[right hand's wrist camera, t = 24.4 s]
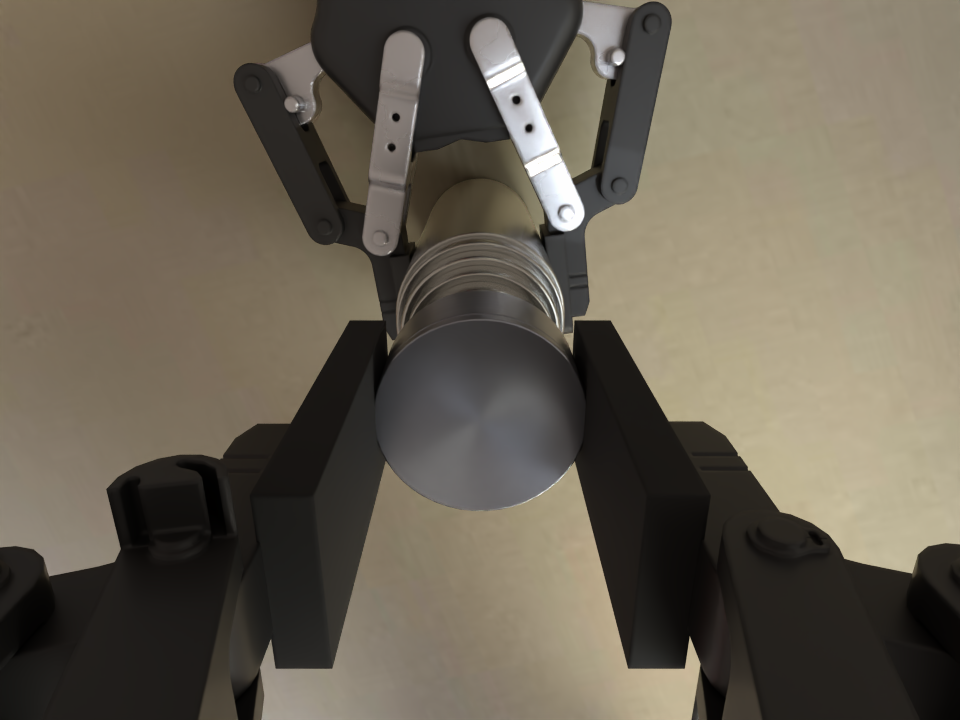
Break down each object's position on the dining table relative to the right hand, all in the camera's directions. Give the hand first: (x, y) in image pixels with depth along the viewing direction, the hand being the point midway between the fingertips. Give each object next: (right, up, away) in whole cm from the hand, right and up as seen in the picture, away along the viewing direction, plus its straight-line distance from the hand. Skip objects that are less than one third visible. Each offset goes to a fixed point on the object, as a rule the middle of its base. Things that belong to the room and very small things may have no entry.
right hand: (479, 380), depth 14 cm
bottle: (0, +6, +15) cm, 17 cm away
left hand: (0, +1, +11) cm, 11 cm away
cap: (0, -1, -1) cm, 2 cm away
